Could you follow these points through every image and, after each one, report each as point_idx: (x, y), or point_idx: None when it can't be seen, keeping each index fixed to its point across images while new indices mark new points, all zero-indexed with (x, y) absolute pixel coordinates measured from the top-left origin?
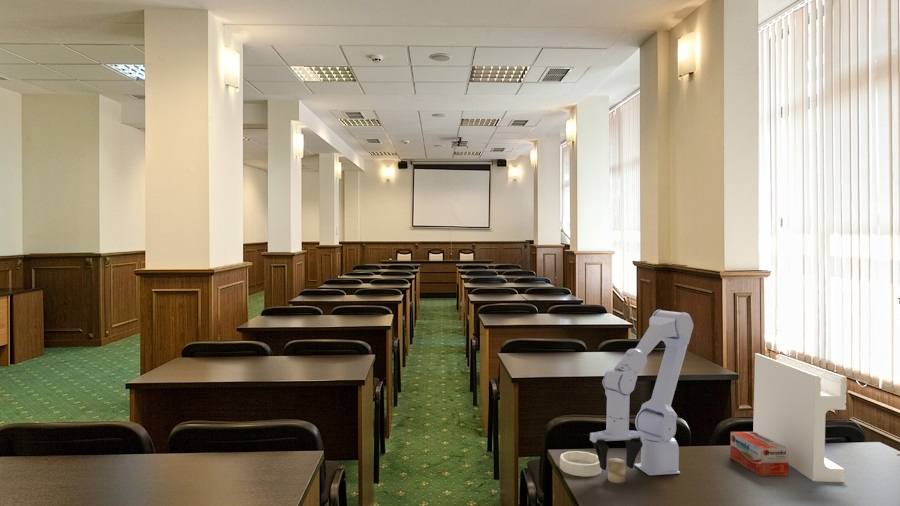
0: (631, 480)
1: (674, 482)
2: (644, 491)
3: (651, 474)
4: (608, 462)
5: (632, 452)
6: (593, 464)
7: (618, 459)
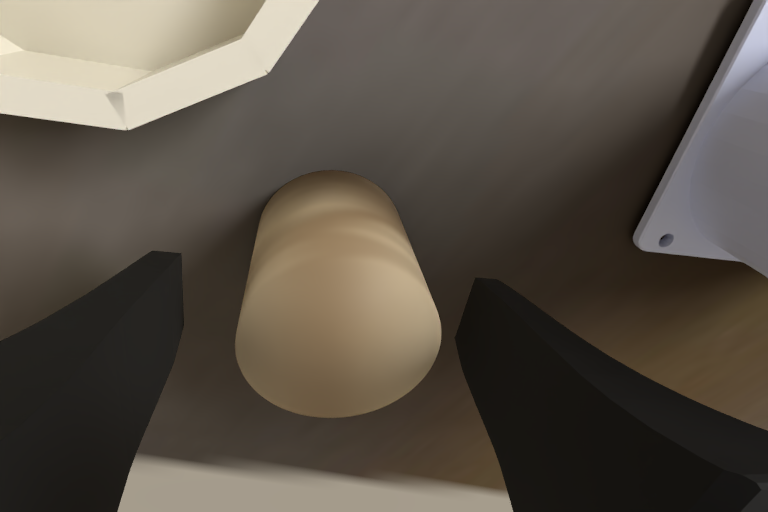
0: (442, 271)
1: (661, 353)
2: (389, 417)
3: (650, 249)
4: (241, 313)
5: (521, 496)
6: (113, 114)
7: (399, 309)
